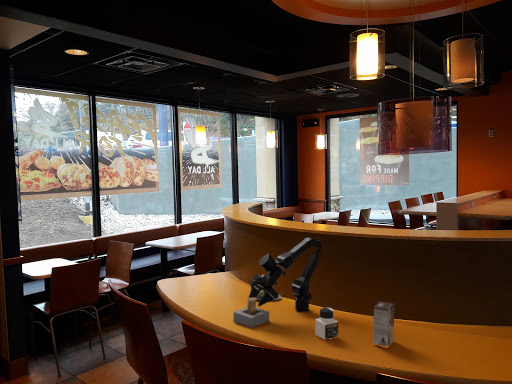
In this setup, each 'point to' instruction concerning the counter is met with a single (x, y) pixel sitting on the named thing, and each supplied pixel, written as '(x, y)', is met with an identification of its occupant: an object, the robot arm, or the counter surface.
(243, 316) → the socket block
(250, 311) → the oak peg
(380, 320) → the coffee box
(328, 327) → the medicine bottle
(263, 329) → the counter surface
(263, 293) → the salad plate
